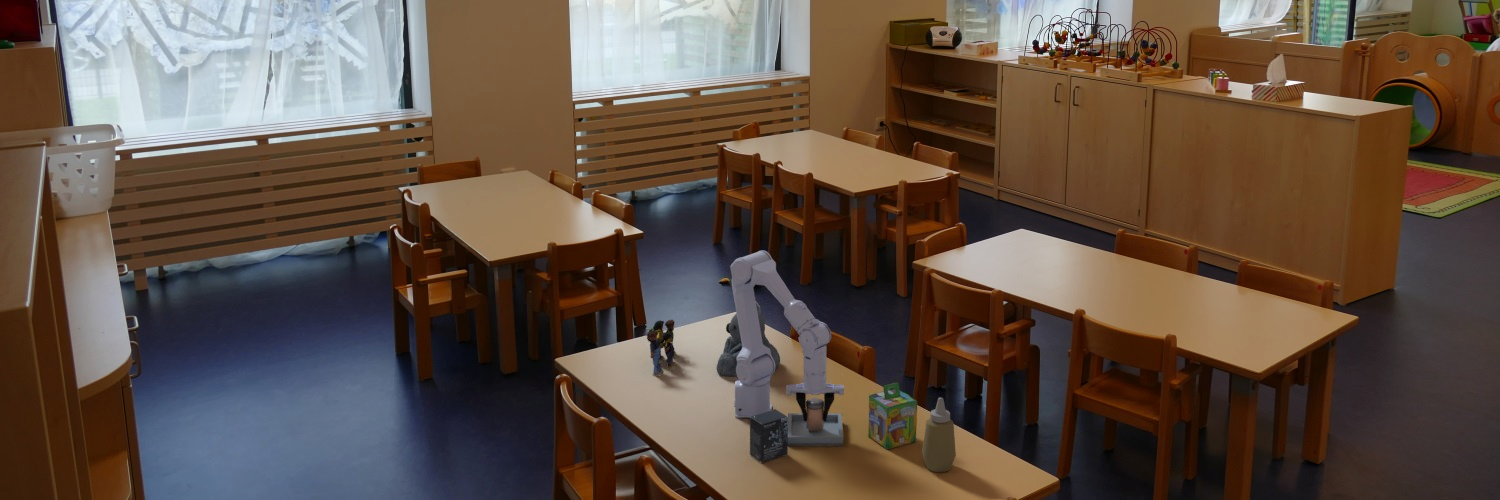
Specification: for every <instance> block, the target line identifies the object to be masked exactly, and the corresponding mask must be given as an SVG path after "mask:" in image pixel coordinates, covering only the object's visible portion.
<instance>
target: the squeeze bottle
mask: <svg viewBox="0 0 1500 500" xmlns="http://www.w3.org/2000/svg"><path fill="white" fill-rule="evenodd" d="M935 405H936V406H935V409H931V411H930V418H928V419H927V420H926V421H925V422H926V423H925V429H924V436H923V442H922V450H921V453H922V454H921V455H922V458H923V461H924V464H925V467H926V468H927V470H929V471H931V472H935V473H945V472H948V471H950V470H951V468H952V466H953V464H954V461H955V458H956V457H957V454H956V453H957V452H956V440H955V439H956V437H955V424H954V421H953V420H952V419H951V412H950V411H949V410H947V409H946V407H945V406H946V405H945V401H944V397H938V398H937V402H936V404H935Z"/></svg>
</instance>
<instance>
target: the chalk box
mask: <svg viewBox="0 0 1500 500" xmlns="http://www.w3.org/2000/svg"><path fill="white" fill-rule="evenodd" d="M917 416H918V401H917V399H914V398H913V397H912V396H910V395H909V394H908V393H906V392H903V391H901V389H900V385H899V382H893V383H890V384H885V385H884V386H883V391H880V392H877V393H873V394H869V395H868V432H867V433H868V437H869V439H870V438H871V439H872V440H873V441H875V442H876V443H878V444H879V445H880V446H882V447H884V448H885V449H886V450H889V449H895V448H898V447H902V446H905V445H909V444H912V443H916V442H917V441H916V440H917V420H918V419H917Z"/></svg>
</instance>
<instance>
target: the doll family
mask: <svg viewBox="0 0 1500 500" xmlns="http://www.w3.org/2000/svg"><path fill="white" fill-rule="evenodd" d="M675 323H676V322H675V320H674V319H669V320H667V321H666V322H665V321H664V320H660V319H659V320H657V321H655V323H654V325H653V326H652V327H651V328H648V327H646V330H648V331H647V333H646V335H645V336H646V340H647V342H649V346H650V347H649V350H650V359H652V364H653V371H652V376H654V377H661V376H662V375H663V374H662V373H664V369H663V368H662V365H661V364H660V363H664V359H665V357H664V356H663V355H662V354H661V352H662V349H664V353H665V356H666V359H665V363H666V364H667V366H666V367H665V369H666V370H671V371H672V370H675V369H676V367H675V366H678V363H677V362H676V361H674V360H673V359H674V358H676V357H678V355H677V352H676V350H675V347H674V336H675V335H674V328H675ZM664 326H665V327H666V331H664V330H663V329H664Z"/></svg>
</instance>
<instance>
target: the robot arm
mask: <svg viewBox="0 0 1500 500" xmlns="http://www.w3.org/2000/svg"><path fill="white" fill-rule="evenodd" d="M729 269H730V274H731V288H732V289H731V290H732V295H733V300H734V301H733V302H734V306H735V311H736V312H735V314H736V313H737V319H738V325H739V330H740V336H741V342H742V349H741V351H740V353H739V354H738V356H737V358H736V360H737V367H736V374H737V376H736V377H737V379H738V380H735V383H734V403H733V404H734V408H735V411H734V412H735V413H734V414H735V415H734V416H735V418H748V419H750V416H754V415H758V414H761V413H765V412H768V411H771V410H773V404H772V403H771V394H770V392H771V385H770V383H771V382H770V380H772V375H774V373H775V371H776V369H777V368H776V366H775V361H774V359H773V358H772V355H771V351H770V349H769V348H768V347H766V346H764V345H763V342H762V336H761V330H760V325H759V319H758V313H757V307H756V302H757V301H756V295H755V290H754V287H755V286H756V285H757V286H765V288H766V289H767V290H768V291H769V292H770V293H771V294H772V295H773V297H774V298H775V299H776V300H777V301H778V303H780V304H781V306H782V307H783V308H784V311H783V315H784V317H785V318H786V320H787V321H788V322H789V323H790V325H791V327H793V329H794V330H795V331H796V333H797V334H798V335H799V336H798V343H799V345H800V348H801V352H802V355H803V382H802V383H796V384H786V385H785V386H786V387H785V389H786V396H790V395H795V400H796V402H797V404H798V406H799V408H800V411H801V413H802V414H803V418H804V421H806V401H807V400H806V396H807V395H811V396H820V395H823V396H824V397H823V401H824V421H826V420H827V415H828V413H829V411H830V409H831V407H832V405H833V403H834V401H835V395H838V396H844V395H845V390H844V388H845V387H844V384H834V383H829V382H827V344H828V343H830V341H831V340H832V332H831V329H830V328H829V326H828V324H826V323H825V322H823V321H820V320H819V319H817V318H816V317H815V316H814V315H813V314H812V312H811V311H810V309H809V308H808V307H807V304H806V303H804V302H803V300H798V299H795V297H794V296H793V294H792V293H791V291H790V290H789V288H788V287H787V285H786V283H785V282H784V280H783V279H782V278H781V276H780V274H779V273H778V271H777V262H776V261H775V260H774V259H773V258H772V256H771V254H770V253H769V252H768V251H766V250H758V251H756V252H754V253H751V254H748V255H745V256H741V257H738V258H736V259H734V261H733V262H732V263H731V265H730V266H729ZM775 368H776V369H775Z"/></svg>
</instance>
